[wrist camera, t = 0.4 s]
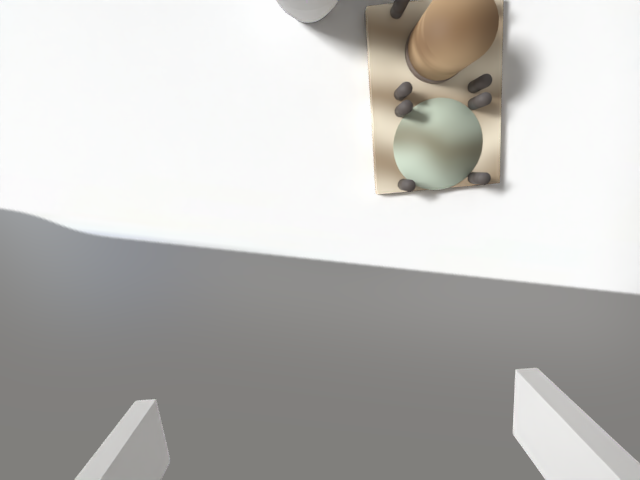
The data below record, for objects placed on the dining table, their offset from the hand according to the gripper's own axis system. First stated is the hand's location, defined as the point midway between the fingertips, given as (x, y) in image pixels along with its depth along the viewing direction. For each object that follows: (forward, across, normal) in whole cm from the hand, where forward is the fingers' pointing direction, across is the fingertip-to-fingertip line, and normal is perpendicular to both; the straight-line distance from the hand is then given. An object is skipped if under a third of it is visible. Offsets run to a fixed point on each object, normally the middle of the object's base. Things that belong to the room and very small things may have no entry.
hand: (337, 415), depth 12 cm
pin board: (+27, +13, +14) cm, 33 cm away
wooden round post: (+26, +13, +19) cm, 34 cm away
